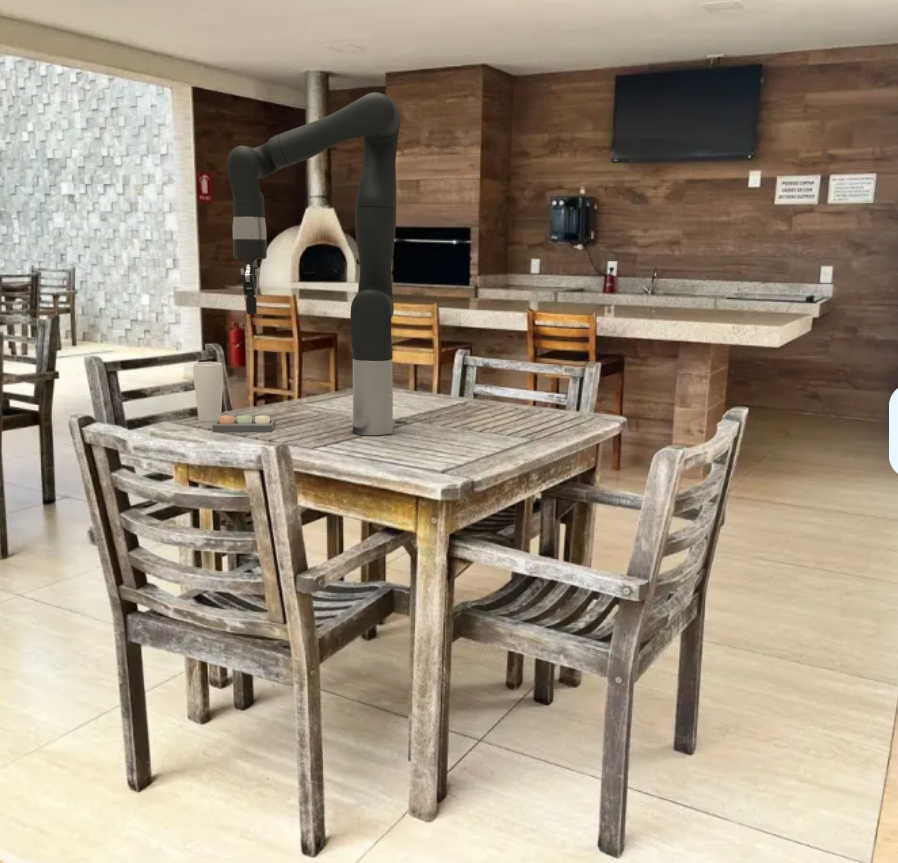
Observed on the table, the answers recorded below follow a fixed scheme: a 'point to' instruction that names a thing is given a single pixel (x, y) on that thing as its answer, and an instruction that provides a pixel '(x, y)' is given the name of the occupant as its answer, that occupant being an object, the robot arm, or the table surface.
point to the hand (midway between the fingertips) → (251, 313)
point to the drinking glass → (208, 389)
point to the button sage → (244, 419)
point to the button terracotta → (226, 419)
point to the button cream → (262, 419)
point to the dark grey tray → (244, 427)
